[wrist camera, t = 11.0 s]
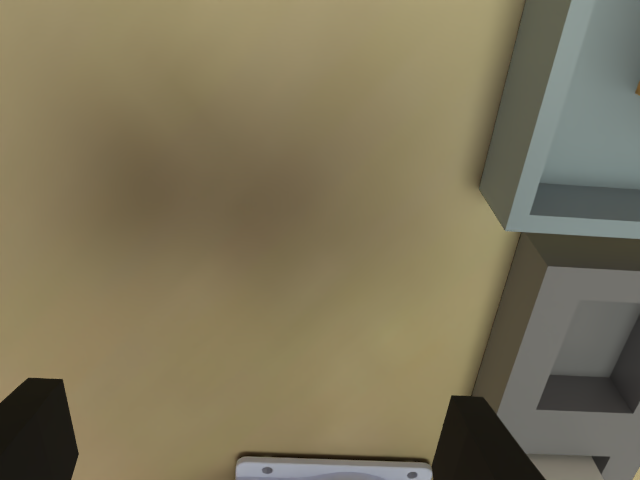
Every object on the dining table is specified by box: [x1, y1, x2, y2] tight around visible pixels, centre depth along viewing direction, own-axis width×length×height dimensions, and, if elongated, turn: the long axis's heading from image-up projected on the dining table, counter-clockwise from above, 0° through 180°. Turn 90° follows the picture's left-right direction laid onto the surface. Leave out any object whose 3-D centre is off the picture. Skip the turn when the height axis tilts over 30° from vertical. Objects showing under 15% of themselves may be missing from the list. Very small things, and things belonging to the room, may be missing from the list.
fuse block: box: [472, 232, 640, 480], centre depth 24 cm, size 7×16×2 cm, turn 175°
